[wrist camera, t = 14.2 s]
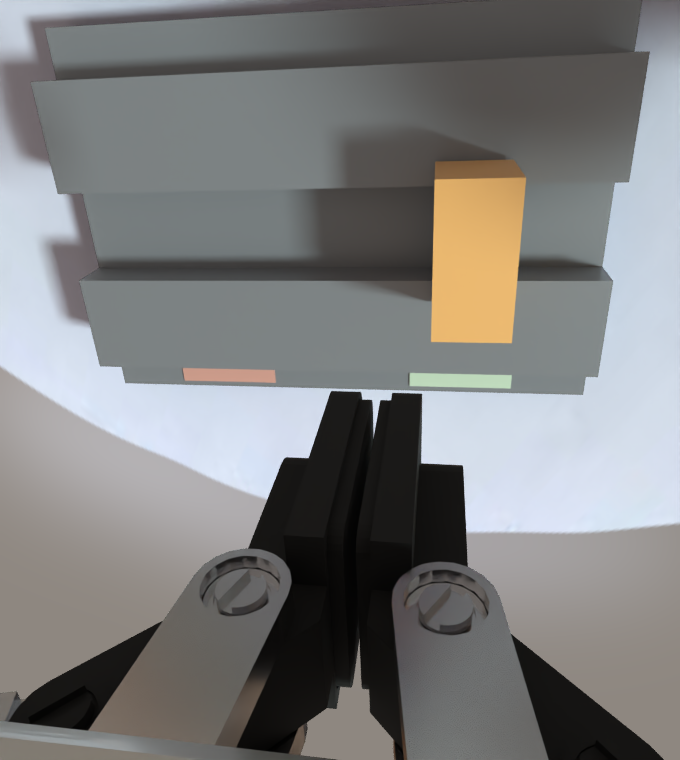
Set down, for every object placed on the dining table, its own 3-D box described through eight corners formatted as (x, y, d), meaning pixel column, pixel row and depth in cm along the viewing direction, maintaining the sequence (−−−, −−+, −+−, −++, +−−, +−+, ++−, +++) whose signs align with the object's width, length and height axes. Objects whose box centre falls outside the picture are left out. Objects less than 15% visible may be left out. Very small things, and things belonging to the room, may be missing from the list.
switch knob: (508, 152, 26) (526, 177, 21) (498, 290, 29) (511, 343, 24) (435, 154, 26) (434, 179, 21) (432, 290, 29) (430, 342, 24)
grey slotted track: (629, -6, 25) (660, -15, 21) (575, 376, 33) (591, 415, 29) (68, 29, 28) (16, 26, 25) (140, 366, 36) (108, 400, 33)
